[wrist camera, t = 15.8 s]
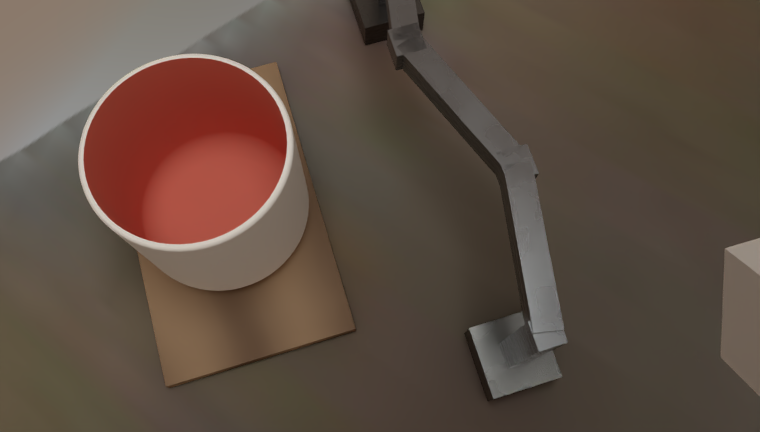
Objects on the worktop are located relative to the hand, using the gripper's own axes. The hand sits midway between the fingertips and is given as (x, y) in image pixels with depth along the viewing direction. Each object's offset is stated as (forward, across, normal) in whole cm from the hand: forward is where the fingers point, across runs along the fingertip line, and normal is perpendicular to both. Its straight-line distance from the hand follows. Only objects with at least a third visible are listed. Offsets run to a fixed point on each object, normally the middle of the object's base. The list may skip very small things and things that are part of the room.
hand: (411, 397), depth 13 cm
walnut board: (+29, -6, -9) cm, 31 cm away
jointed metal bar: (+29, +7, -10) cm, 32 cm away
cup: (+29, -6, -9) cm, 31 cm away
